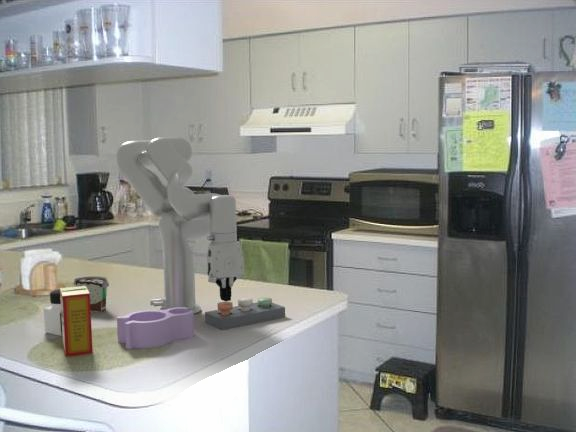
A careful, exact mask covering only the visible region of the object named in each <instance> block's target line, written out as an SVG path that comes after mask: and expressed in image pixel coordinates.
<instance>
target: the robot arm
mask: <svg viewBox="0 0 576 432" xmlns="http://www.w3.org/2000/svg"><path fill="white" fill-rule="evenodd" d="M192 156H193V149H192V145H191V144H190V142H189V141H188V140H187V139H186V138H184V137H181V136H180V137H179V136H161V137H156V138H154V139H150V140H149V139H148V140H143V139H141V140H140V139H139V140H130V141H126V142H124V143H122V144H121V145H120V146H119V147H118V149H117V151H116V162H117V166H118V170H119V172H120V174H121V176H122V177H123V179H124V180H125V181H126V182H127V183H128V184H129V185H130V186H131V187H132V189H134V191H135V192H136V193H137V195H138V196H139V198H140V199H141V201H142V202H143V204H144V205H145V206H146V209H148V211H149V212H150V213H151V214H152V215H153V216H154V217H155V218H156V217H157V218H160V220H159V222H158V231H159V236H160V242H161V247H162V259H163V282H164V283H163V285H164V286H163V287H164V288H163V289H164V290H163V291H164V296H163V297H160V298H159V299H158V298H152V299H150V306H153V307H160V308H159V310H166V309H170V308H176V307H187V308H188V311H191V310H193V311H194V315H195V314H198V313H200V312H201V305H200V304H198V303H196V278H195V275H196V274H195V254H194V252H193V249H192V247H191V246H190V244H189V242H188V241H192V240H193V241H194V240H198V239H204V238H206V240H207V241H210V243H208V248H207V258H206V273H207V276H208V277H207V282H209V283H211V284H216V285H217V286H218V287H219V297H220V300H222V302H231V301H232V287H233V286H234V283H235V282H236V281H237V280H239V279H242V277H243V274H244V270H245V268H244V257H243V250H242V246H241V242H240V241H238V235H237V234H238V233H237V230H238V228H237V203H236V202H237V201H236V197H234V196H233V195H229V194H219V193H213V192H211V193H210V192H207V193H196V194H195V193H194V191H192V190H191V189H190V188H189V187H186V186H183V185H185V184H186V183H187V182H188V181H189V180H190V179H191V176H192V175H193V167H192V165H191V164H190V163H189V161H190V160H191V158H192ZM147 167H156V168H157V170H158V171H159V173H160V174H161V175H162V177H163V178H164V179H165V180H166V181H167V185H165V184H164V182H163V181H162V179H160V177H159V176H158V175H157V174H156V173H155V172H153V171H152V170H151V169H148V168H147Z"/></svg>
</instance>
